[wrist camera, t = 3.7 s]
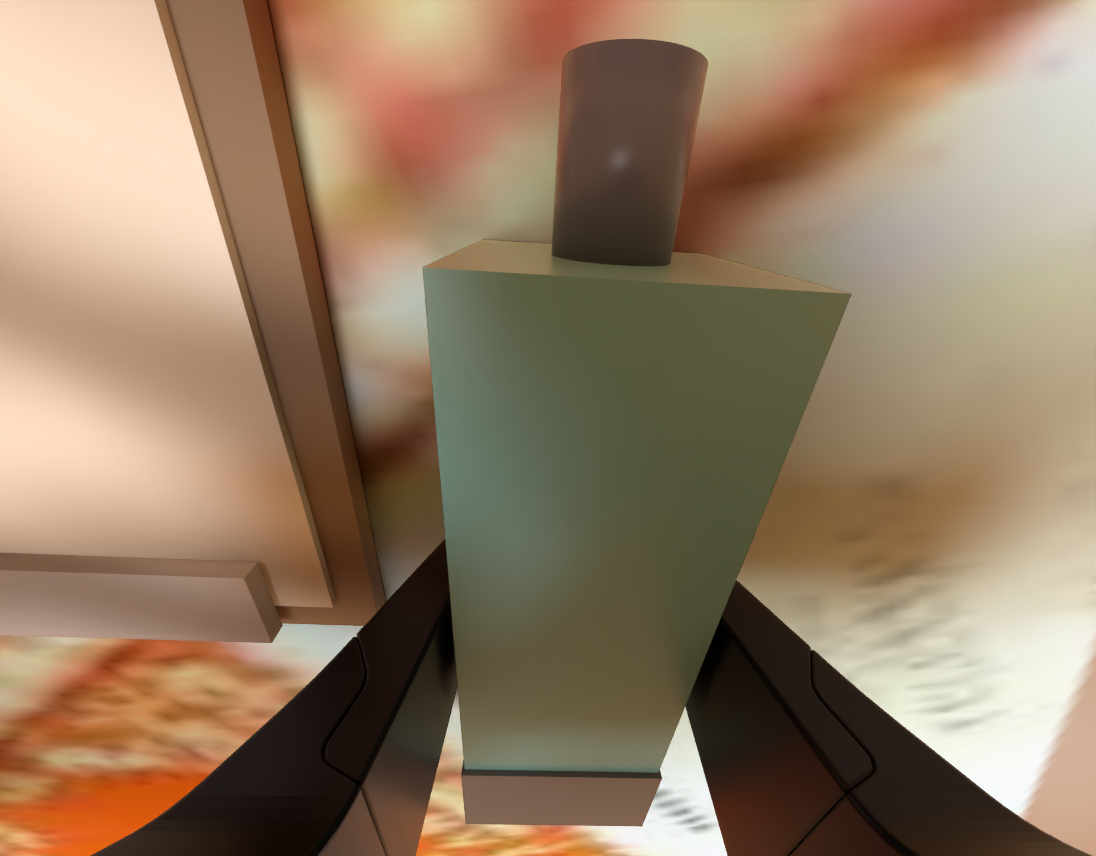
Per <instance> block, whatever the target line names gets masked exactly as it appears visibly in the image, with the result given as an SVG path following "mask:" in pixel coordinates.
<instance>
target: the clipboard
mask: <svg viewBox="0 0 1096 856" xmlns="http://www.w3.org/2000/svg"><path fill="white" fill-rule="evenodd" d="M385 603H386V600H385V595H384V590H383V585H382V580H381V575H380V570H379V565H378V560H377V554H376V549H375V544H374V539H373V534H372V529H371V524H370V519H369V514H368V509H367V504H366V499H365V494H364V489H363V484H362V479H361V474H360V469H359V464H358V459H357V454H356V449H355V444H354V439H353V434H352V428H351V423H350V418H349V413H348V408H347V403H346V398H345V393H344V388H343V383H342V378H341V373H340V368H339V363H338V358H337V353H336V348H335V343H334V338H333V333H332V328H331V323H330V318H329V313H328V308H327V302H326V297H325V292H324V287H323V282H322V277H321V272H320V267H319V262H318V257H317V252H316V247H315V242H314V237H313V232H312V227H311V222H310V217H309V212H308V207H307V202H306V197H305V192H304V187H303V182H302V176H301V171H300V166H299V161H298V156H297V151H296V146H295V141H294V136H293V131H292V126H291V121H290V116H289V111H288V106H287V101H286V96H285V91H284V86H283V81H282V76H281V71H280V66H279V61H278V56H277V50H276V45H275V40H274V35H273V30H272V25H271V20H270V15H269V10H268V5H267V0H0V635H13V636H48V637H83V638H118V639H154V640H189V641H224V642H259V643H272V642H273V640H274V638H275V637H276V635H277V634H278V632H279V631H280V629H281V627H282V626H283V625H282V623H289V624H322V625H355V626H364V625H365V624H366V623H367V622H368V621H369V620H370V619H371V618H372V617H373V616H374V615H375V614H376V613H377V611H378V610H379V609H380V608H381V607H382V606H383V605H384V604H385Z"/></svg>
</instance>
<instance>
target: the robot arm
mask: <svg viewBox="0 0 1096 856" xmlns="http://www.w3.org/2000/svg"><path fill="white" fill-rule="evenodd" d="M457 687H458V684H457V672H456V660H455V648H454V636H453V624H452V613H451V601H450V589H449V577H448V565H447V553H446V541H445V539H444V540H443V541H442V542H441V543H440V544H439V546H438V547H437V548H436V549H435V550H434V551H433V552H432V553H431V554H430V555H429V556H428V557H427V559H426V560H425V561H424V562H423V563H422V564H421V565H420V566H419V567H418V568H417V569H416V570H415V571H414V573H413V574H412V575H411V576H410V577H409V578H408V579H407V580H406V581H405V582H404V583H403V584H402V586H401V587H400V588H399V589H398V590H397V591H396V592H395V593H394V594H393V595H392V596H391V597H390V598H389V600H388V601H387V602H386V603H385V604H384V605H383V606H382V607H381V608H380V609H379V610H378V611H377V613H376V614H375V615H374V616H373V617H372V618H371V619H370V620H369V621H368V622H367V623H366V624H365V625H364V627H363V628H362V629H361V630H360V631H359V632H358V633H357V637H353V638H352V639H351V640H350V641H349V642H348V644H347V645H346V646H345V647H344V648H343V649H342V650H341V651H340V652H339V653H338V654H337V655H336V656H335V657H334V658H333V659H332V660H331V662H330V663H329V664H328V665H327V666H326V667H325V668H324V669H323V670H322V671H321V672H320V673H319V674H318V675H317V676H316V677H315V678H314V679H313V680H312V681H311V682H310V683H309V684H308V685H307V686H306V687H305V688H303V689H302V690H301V691H300V692H299V693H298V694H297V695H296V696H295V697H294V698H293V699H292V700H291V701H290V702H289V703H288V704H287V705H285V706H284V707H283V708H282V709H281V710H280V711H279V712H278V713H277V714H276V715H275V716H273V717H272V718H271V719H270V720H269V721H268V722H267V723H266V724H265V725H264V726H263V727H261V728H260V729H259V730H258V731H257V732H256V733H255V734H254V735H253V736H252V737H250V738H249V739H248V740H247V741H246V742H245V743H244V744H243V745H242V746H241V747H239V748H238V749H237V750H236V751H235V752H234V753H233V754H232V755H231V756H230V757H228V758H227V759H226V760H225V761H224V762H223V763H222V764H221V765H220V766H219V767H218V768H216V769H215V770H214V771H213V772H212V773H211V774H210V775H209V776H208V777H207V778H205V779H204V780H203V781H202V782H201V783H200V784H199V785H197V786H196V787H195V788H194V789H193V790H192V791H191V792H189V793H188V794H187V795H186V796H185V797H183V798H182V799H181V800H179V801H178V802H177V803H176V804H174V805H173V806H172V807H171V808H169V809H168V810H166V811H165V812H164V813H162V814H161V815H159V816H158V817H157V818H155V819H154V820H152V821H151V822H149V823H148V824H146V825H145V826H143V827H142V828H140V829H138V830H137V831H135V832H133V833H132V834H130V835H128V836H126V837H125V838H123V839H121V840H119V841H117V842H115V843H113V844H112V845H110V846H108V847H106V848H104V849H102V850H100V851H98V852H97V853H95V854H93V855H91V856H416V852H417V847H418V843H419V839H420V835H421V831H422V827H423V823H424V819H425V815H426V811H427V807H428V803H429V799H430V795H431V791H432V787H433V783H434V779H435V775H436V771H437V767H438V763H439V759H440V755H441V751H442V747H443V743H444V739H445V735H446V731H447V727H448V723H449V719H450V715H451V711H452V707H453V703H454V699H455V695H456V691H457ZM685 706H686V710H687V714H688V717H689V721H690V724H691V728H692V731H693V735H694V738H695V742H696V745H697V749H698V752H699V756H700V760H701V763H702V767H703V770H704V774H705V777H706V781H707V784H708V788H709V791H710V795H711V798H712V802H713V806H714V809H715V813H716V816H717V820H718V823H719V827H720V830H721V834H722V837H723V841H724V844H725V848H726V852H727V855H728V856H1092V855H1090V854H1087V853H1085V852H1083V851H1081V850H1078V849H1077V848H1074V847H1072V846H1070V845H1068V844H1066V843H1064V842H1062V841H1060V840H1058V839H1056V838H1054V837H1053V836H1051V835H1049V834H1047V833H1045V832H1043V831H1041V830H1040V829H1038V828H1037V827H1035V826H1033V825H1032V824H1030V823H1028V822H1027V821H1025V820H1024V819H1022V818H1021V817H1019V816H1018V815H1016V814H1015V813H1013V812H1012V811H1010V810H1009V809H1008V808H1006V807H1005V806H1003V805H1002V804H1001V803H999V802H998V801H997V800H995V799H994V798H993V797H991V796H990V795H989V794H988V793H986V792H985V791H984V790H982V789H981V788H980V787H979V786H977V785H976V784H975V783H974V782H972V781H971V780H970V779H969V778H967V777H966V776H965V775H964V774H962V773H961V772H960V771H959V770H957V769H956V768H955V767H954V766H952V765H951V764H950V763H949V762H947V761H946V760H945V759H944V758H942V757H941V756H940V755H939V754H937V753H936V752H935V751H934V750H932V749H931V748H930V747H929V746H927V745H926V744H925V743H924V742H922V741H921V740H920V739H919V738H917V737H916V736H915V735H914V734H912V733H911V732H910V731H909V730H907V729H906V728H905V727H904V726H902V725H901V724H900V723H899V722H897V721H896V720H895V719H894V718H892V717H891V716H890V715H889V714H888V713H886V712H885V711H884V710H883V709H881V708H880V707H879V706H878V705H877V704H875V703H874V702H873V701H872V700H871V699H869V698H868V697H867V696H866V695H864V694H863V693H862V692H861V691H860V690H859V689H857V688H856V687H855V686H854V685H853V684H852V683H851V682H849V681H848V680H847V679H846V678H845V677H844V676H843V675H841V674H840V673H839V672H838V671H837V670H836V669H835V668H833V667H832V666H831V665H830V664H829V663H828V662H827V661H826V660H825V659H823V658H822V657H821V656H820V655H819V654H818V653H817V652H816V651H814V650H811V648H810V646H809V645H808V644H807V643H806V642H804V641H803V640H802V639H801V638H800V637H799V636H798V635H797V634H796V633H794V632H793V631H792V630H791V629H790V628H789V627H788V626H787V625H786V624H785V623H783V622H782V621H781V620H780V619H779V618H778V617H777V616H776V615H775V614H773V613H772V612H771V611H770V610H769V609H768V608H767V607H766V606H765V605H763V604H762V603H761V602H760V601H759V600H758V599H757V598H756V597H755V596H754V595H752V594H751V593H750V592H749V591H748V590H747V589H746V588H745V587H744V586H742V585H741V584H740V583H739V582H738V581H737V580H736V581H735V584H734V586H733V589H732V591H731V594H730V596H729V599H728V601H727V604H726V606H725V609H724V611H723V614H722V616H721V619H720V621H719V623H718V626H717V628H716V631H715V633H714V636H713V638H712V641H711V643H710V646H709V648H708V651H707V653H706V656H705V658H704V661H703V663H702V666H701V668H700V671H699V673H698V675H697V678H696V680H695V683H694V685H693V688H692V690H691V693H690V695H689V698H688V700H687V703H686V705H685Z"/></svg>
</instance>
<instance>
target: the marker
mask: <svg viewBox="0 0 1096 856" xmlns="http://www.w3.org/2000/svg"><path fill="white" fill-rule="evenodd" d="M707 67H708V61H707V59H706V58H705V57H704V56H703V55H702V54H701V53H699V52H697V51H696V50H694V49H691V48H689V47H686V46H683V45H679V44H675V43H670V42H664V41H657V40H646V39H617V40H606V41H600V42H595V43H590V44H586V45H583V46H580V47H578V48H575V49H573V50H571V51H570V52H568V53H567V54H566V55H565V56H564V58H563V63H562V80H561V97H560V114H559V132H558V149H557V166H556V183H555V200H554V218H553V235H552V244H545V243H530V242H514V241H499V240H483V239H482V240H480V241H478V242H476V243H474V244H472V245H469V246H467V247H465V248H463V249H461V250H459V251H457V252H454V253H452V254H450V255H448V256H446V257H444V258H442V259H439V260H437V261H435V262H433V263H431V264H429V265H427V266H424V267H423V278H424V290H425V302H426V314H427V326H428V338H429V350H430V362H431V374H432V386H433V398H434V410H435V422H436V434H437V445H438V457H439V469H440V481H441V493H442V505H443V517H444V529H445V541H446V553H447V565H448V577H449V589H450V601H451V613H452V624H453V636H454V648H455V660H456V672H457V684H458V696H459V708H460V720H461V732H462V744H463V756H464V760H463V767H462V774H461V778H462V788H463V799H464V810H465V820H466V824H509V825H586V826H642V825H643V822H644V820H645V818H646V815H647V813H648V811H649V808H650V806H651V803H652V801H653V799H654V796H655V794H656V791H657V789H658V787H659V784H660V782H661V780H662V777H661V772H660V767H661V765H662V762H663V760H664V757H665V755H666V752H667V750H668V747H669V745H670V742H671V740H672V737H673V735H674V732H675V730H676V727H677V725H678V723H679V720H680V718H681V715H682V713H683V710H684V708H685V705H686V703H687V700H688V698H689V695H690V693H691V690H692V688H693V685H694V683H695V680H696V678H697V675H698V673H699V671H700V668H701V666H702V663H703V661H704V658H705V656H706V653H707V651H708V648H709V646H710V643H711V641H712V638H713V636H714V633H715V631H716V628H717V626H718V623H719V621H720V619H721V616H722V614H723V611H724V609H725V606H726V604H727V601H728V599H729V596H730V594H731V591H732V589H733V586H734V584H735V581H736V579H737V576H738V574H739V571H740V569H741V567H742V564H743V562H744V559H745V557H746V554H747V552H748V549H749V547H750V544H751V542H752V539H753V537H754V534H755V532H756V529H757V527H758V524H759V522H760V519H761V517H762V515H763V512H764V510H765V507H766V505H767V502H768V500H769V497H770V495H771V492H772V490H773V487H774V485H775V482H776V480H777V477H778V475H779V472H780V470H781V467H782V465H783V463H784V460H785V458H786V455H787V453H788V450H789V448H790V445H791V443H792V440H793V438H794V435H795V433H796V430H797V428H798V425H799V423H800V420H801V418H802V415H803V413H804V411H805V408H806V406H807V403H808V401H809V398H810V396H811V393H812V391H813V388H814V386H815V383H816V381H817V378H818V376H819V373H820V371H821V368H822V366H823V363H824V361H825V359H826V356H827V354H828V351H829V349H830V346H831V344H832V341H833V339H834V336H835V334H836V331H837V329H838V326H839V324H840V321H841V319H842V316H843V314H844V311H845V309H846V307H847V304H848V302H849V299H850V297H851V293H847V292H843V291H839V290H836V289H832V288H828V287H825V286H821V285H817V284H814V283H810V282H806V281H802V280H799V279H795V278H791V277H788V276H784V275H780V274H777V273H773V272H769V271H766V270H762V269H758V268H754V267H751V266H747V265H743V264H740V263H736V262H732V261H729V260H725V259H721V258H717V257H714V256H710V255H706V254H701V253H685V252H673V246H674V241H675V236H676V231H677V225H678V220H679V215H680V209H681V204H682V199H683V194H684V188H685V183H686V178H687V173H688V167H689V162H690V157H691V152H692V146H693V141H694V136H695V131H696V125H697V120H698V115H699V109H700V104H701V99H702V94H703V88H704V83H705V78H706V73H707Z"/></svg>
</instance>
